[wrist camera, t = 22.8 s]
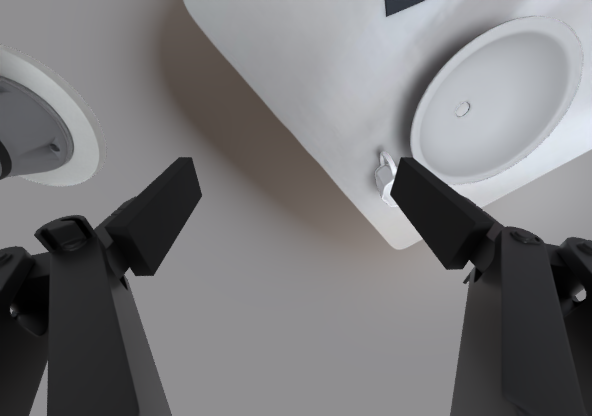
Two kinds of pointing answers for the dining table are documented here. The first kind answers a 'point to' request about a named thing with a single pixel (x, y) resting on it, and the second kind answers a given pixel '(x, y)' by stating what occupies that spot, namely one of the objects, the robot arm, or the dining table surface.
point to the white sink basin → (497, 99)
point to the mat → (398, 5)
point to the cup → (386, 178)
